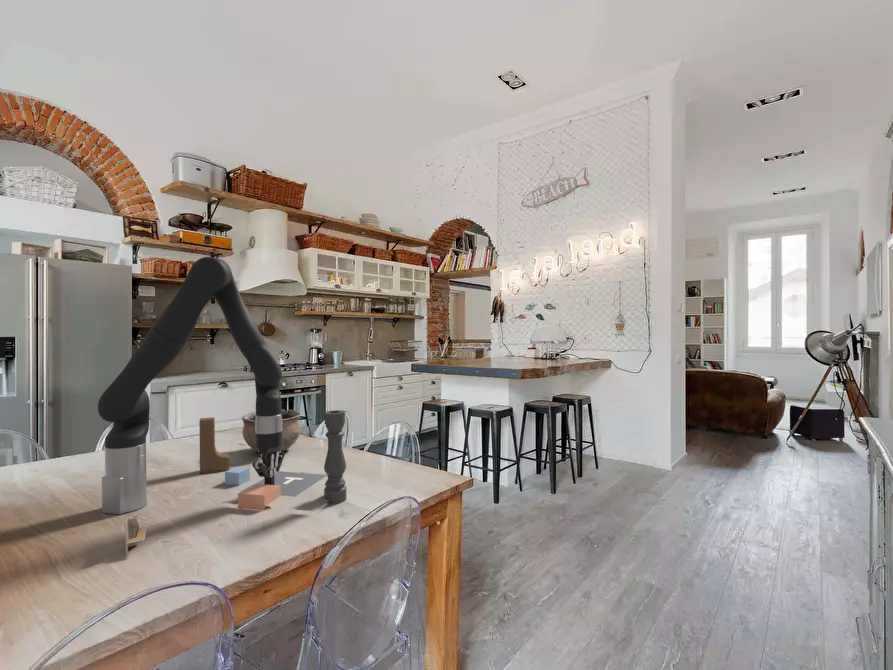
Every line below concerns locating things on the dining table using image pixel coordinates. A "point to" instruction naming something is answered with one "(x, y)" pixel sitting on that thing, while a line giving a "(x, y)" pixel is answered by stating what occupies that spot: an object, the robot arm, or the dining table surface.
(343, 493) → the candle holder
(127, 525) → the architectural model
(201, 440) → the wooden block
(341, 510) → the dining table surface
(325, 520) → the dining table surface
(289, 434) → the ceramic bowl
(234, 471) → the blue cube
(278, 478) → the letter board
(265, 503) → the terracotta block
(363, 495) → the dining table surface
